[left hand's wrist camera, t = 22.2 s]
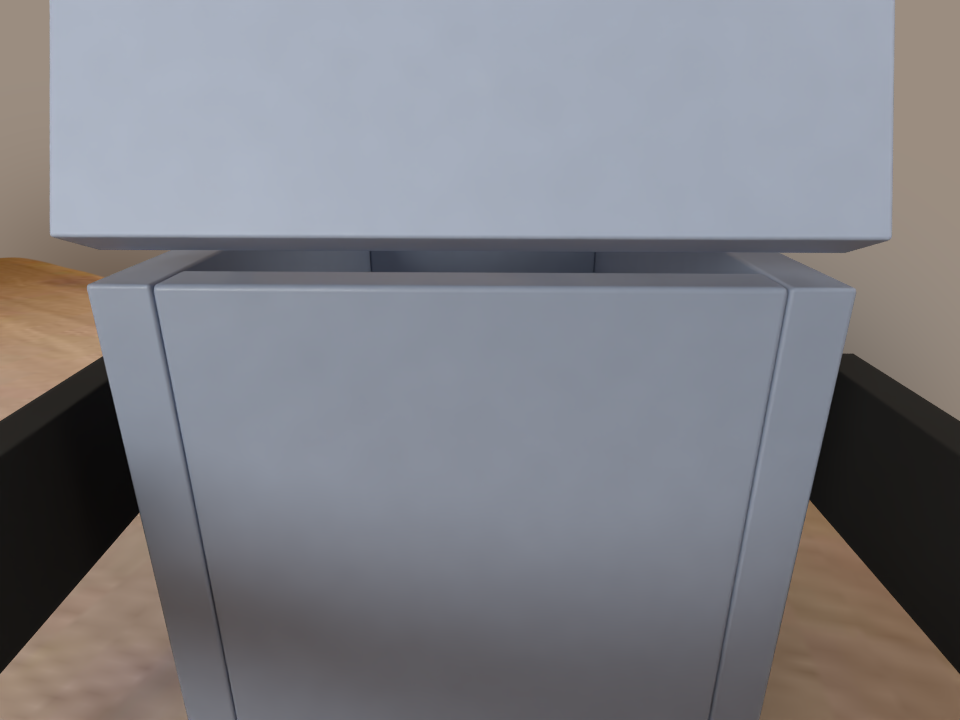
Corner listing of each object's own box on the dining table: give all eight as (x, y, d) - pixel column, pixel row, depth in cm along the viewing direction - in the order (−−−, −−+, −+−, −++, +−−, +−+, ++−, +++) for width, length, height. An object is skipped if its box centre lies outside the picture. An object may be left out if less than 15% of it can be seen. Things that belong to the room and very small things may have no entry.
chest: (364, 425, 27) (345, 177, 23) (601, 427, 27) (620, 178, 23) (206, 806, 12) (82, 284, 8) (740, 816, 12) (860, 288, 8)
